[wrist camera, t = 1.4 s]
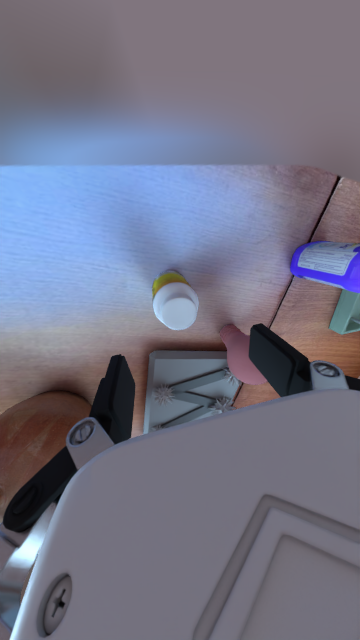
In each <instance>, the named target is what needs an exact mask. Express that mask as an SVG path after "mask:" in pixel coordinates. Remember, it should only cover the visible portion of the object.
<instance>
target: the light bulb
mask: <svg viewBox="0 0 360 640" xmlns="http://www.w3.org/2000/svg"><path fill="white" fill-rule="evenodd" d="M220 337H221V339H222V341H223V342H224V343H225V345H226V348H227V363H228V366H229V369H230V371H231V372H232V374H233V375H234V376H235V377H236V378H237V379H239V380H240V381H242V382H244V383H247V384H252V385H258V384H263V383H265V382H267V380H266V379H265V377H264V376H263V375H262V374H261V373H260V371H259V370H258V369H257V368H256V367H255V365H254V364H253V363H252V362H251V361H250V359H249V356H248V354H249V342H250V336H247V335H245V334H244V333H242V332H241V331H240V330H239V329H238V328H237V327H236V326H234V325H227V326H225V327H224V328H222V330H221V331H220Z"/></svg>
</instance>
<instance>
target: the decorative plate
mask: <svg viewBox="0 0 360 640" xmlns="http://www.w3.org/2000/svg"><path fill="white" fill-rule="evenodd" d="M240 382H241V381H240V380H239V379H237V378H236V377H235V376H234V375H233V374H232V372H231V371H230V369H229V366H228V363H227V351H162V350H155V351H154V352H153V353H151V354H150V355H149V366H148V379H147V392H146V405H145V418H144V430H143V435H144V434H147V433H151V432H154V431H158V430H161V429H165V428H168V427H172V426H176V425H179V424H183V423H187V422H190V421H194V420H198V419H202V418H205V417H209V416H213V415H217V414H220V413H224V412H228V411H232V409H235V408H236V407H230V406H231V404H232V403H233V402H234V401H233V402H232V400H233V397H234V395H235V393H236V391H237V388H238V386H239V384H240V385H241V383H240ZM241 387H242V386H241Z"/></svg>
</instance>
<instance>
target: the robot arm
mask: <svg viewBox="0 0 360 640" xmlns="http://www.w3.org/2000/svg"><path fill="white" fill-rule="evenodd" d="M248 356H249V359H250V361H251V362H252V363H253V364H254V365H255V367H256V368H257V369H258V370H259V371H260V373H261V374H262V375H263V376H264V377H265V379H266V380H267V381H268V382H269V383H270V385H271V386H272V387H273V388H274V389H275V391H276V392H277V393H278V394H279V395H280V396H281V398H278V399H274V400H270V401H266V402H262V403H258V404H254V405H251V406H247V407H243V408H239V409H235V410H232V411H228V412H224V413H220V414H217V415H213V416H209V417H205V418H202V419H198V420H194V421H190V422H187V423H183V424H179V425H176V426H172V427H168V428H165V429H161V430H158V431H154V432H151V433H147V434H144V435H140V436H137V437H134V438H131V431H132V420H133V409H134V397H135V382H134V379H133V377H132V374H131V372H130V369H129V367H128V364H127V361H126V359H125V357H124V356H121V354H119V355H115V356H112V357H111V360H110V363H109V366H108V369H107V372H106V376H105V378H102V379H101V381H100V384H99V387H98V390H97V393H96V396H95V399H94V402H93V405H92V408H91V411H90V414H89V417H87V418H84V419H82V420H80V421H79V422H77V423H76V424H75V425H74V426H73V427H72V428H71V430H70V431H69V433H68V435H67V437H66V446H65V447H64V448H63V449H61V450H60V451H59V452H58V453H57V454H56V455H55V456H54V457H53V458H52V459H51V460H50V461H49V462H48V463H47V464H46V465H45V466H43V467H42V468H41V469H40V470H39V471H38V472H37V473H36V474H35V475H34V476H33V477H32V478H31V479H30V480H29V481H28V482H27V483H25V484H24V485H23V486H22V487H21V488H20V489H19V491H18V492H17V493H16V494H15V495H14V497H13V498H12V499H11V501H10V502H9V504H8V506H7V508H6V510H5V513H4V516H3V521H2V523H1V524H0V640H360V379H357V378H353V377H349V376H346V375H344V373H343V371H342V370H341V369H340V368H339V367H337V366H336V365H334V364H332V363H330V362H326V361H320V360H318V361H313V362H309V361H308V358H307V357H305V356H304V355H303V354H301V353H300V352H299V351H298V350H296V349H295V348H294V347H292V346H291V345H290V344H288V343H287V342H286V341H284V340H283V339H282V338H280V337H279V336H278V335H276V334H275V333H274V332H272V331H271V330H270V329H268V328H267V327H266V326H265V325H263V324H256V325H253V326H252V328H251V330H250V342H249V354H248ZM129 438H131V439H129ZM40 547H41V548H40ZM39 549H40V551H39V554H37V552H38V550H39ZM36 559H37V560H36ZM35 560H36V563H35V566H34V568H33V571H32V574H31V577H30V580H29V583H28V586H27V589H26V592H25V595H24V598H23V601H22V604H20V597H21V591H22V587H23V584H24V581H25V579H26V577H27V575H28V572H29V571H30V569H31V567H32V565H33V564H34V562H35Z"/></svg>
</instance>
